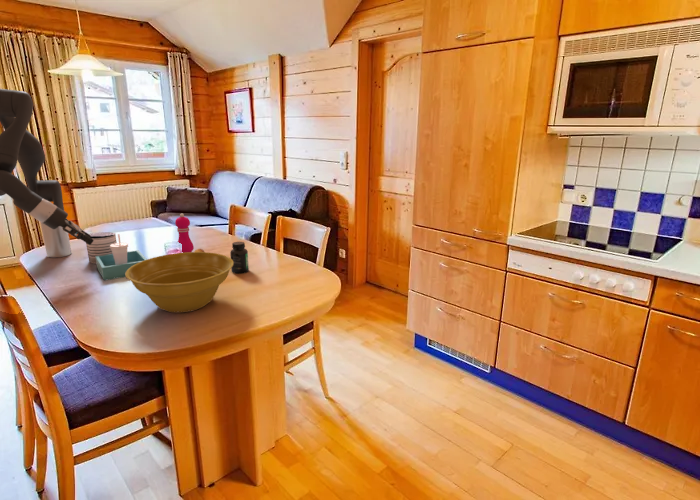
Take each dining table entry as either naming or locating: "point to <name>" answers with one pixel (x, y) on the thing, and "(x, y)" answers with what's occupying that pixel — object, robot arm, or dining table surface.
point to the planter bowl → (180, 279)
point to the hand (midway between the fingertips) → (90, 240)
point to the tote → (117, 271)
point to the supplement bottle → (239, 258)
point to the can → (100, 245)
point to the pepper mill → (184, 233)
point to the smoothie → (119, 252)
